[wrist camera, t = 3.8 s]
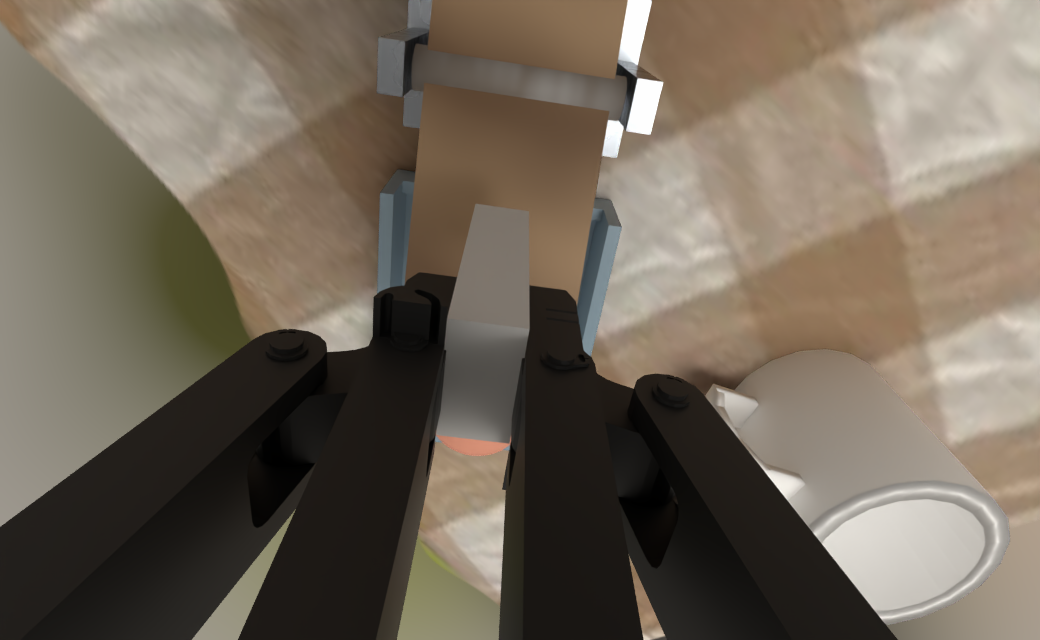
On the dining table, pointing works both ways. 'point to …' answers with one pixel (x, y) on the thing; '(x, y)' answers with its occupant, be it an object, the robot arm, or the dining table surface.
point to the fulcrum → (640, 83)
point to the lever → (514, 126)
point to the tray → (595, 270)
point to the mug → (868, 480)
